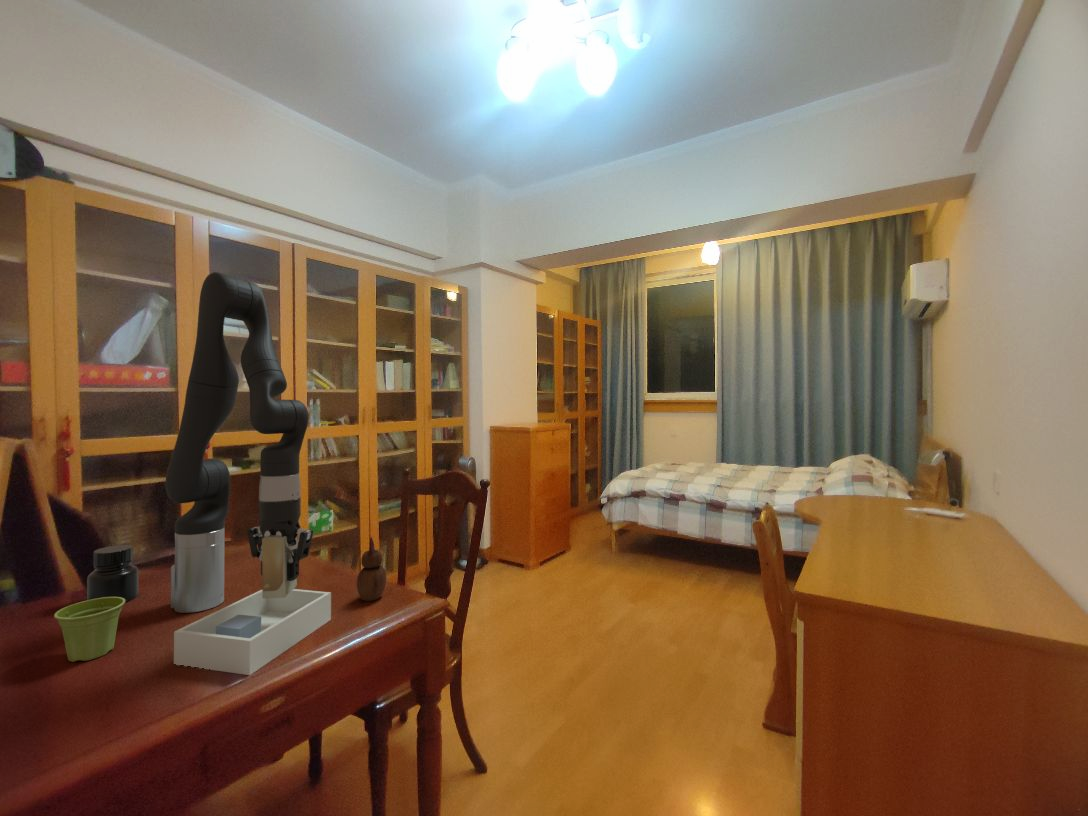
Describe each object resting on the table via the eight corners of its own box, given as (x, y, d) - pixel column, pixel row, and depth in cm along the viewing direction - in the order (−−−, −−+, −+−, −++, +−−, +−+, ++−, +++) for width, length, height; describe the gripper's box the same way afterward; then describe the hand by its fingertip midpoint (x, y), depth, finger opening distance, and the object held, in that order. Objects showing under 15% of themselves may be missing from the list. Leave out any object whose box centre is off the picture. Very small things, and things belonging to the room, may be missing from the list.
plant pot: (63, 673, 81) (63, 622, 80) (47, 657, 86) (47, 609, 86) (132, 650, 88) (133, 603, 88) (114, 636, 93) (114, 592, 93)
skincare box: (276, 587, 101) (276, 529, 101) (297, 586, 101) (297, 529, 101) (260, 599, 94) (260, 538, 94) (283, 598, 95) (283, 537, 95)
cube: (215, 653, 86) (215, 626, 86) (238, 640, 91) (238, 614, 91) (239, 656, 85) (239, 628, 85) (261, 643, 90) (261, 616, 90)
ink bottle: (128, 589, 117) (129, 541, 117) (148, 596, 113) (148, 546, 113) (76, 604, 108) (77, 551, 108) (95, 611, 105) (95, 557, 105)
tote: (173, 664, 84) (174, 631, 84) (267, 612, 105) (268, 586, 105) (249, 675, 81) (250, 641, 81) (330, 619, 102) (331, 592, 102)
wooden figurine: (374, 605, 109) (375, 540, 109) (352, 602, 110) (352, 538, 110) (390, 593, 116) (390, 532, 116) (368, 591, 117) (369, 531, 117)
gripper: (235, 498, 95) (235, 583, 95) (298, 501, 93) (298, 588, 93) (264, 492, 103) (264, 570, 103) (323, 494, 100) (323, 575, 100)
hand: (280, 578), depth 98 cm, fingers closed on skincare box, 5 cm apart
